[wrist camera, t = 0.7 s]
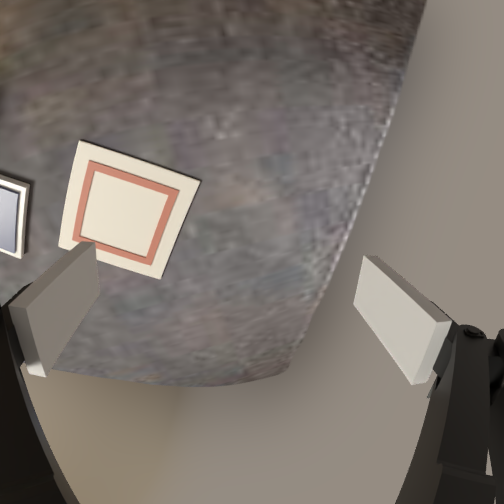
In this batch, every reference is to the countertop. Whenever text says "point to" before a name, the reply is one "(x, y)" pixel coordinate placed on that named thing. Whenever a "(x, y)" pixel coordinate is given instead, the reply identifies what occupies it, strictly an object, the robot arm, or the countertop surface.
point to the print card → (125, 208)
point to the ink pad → (13, 215)
